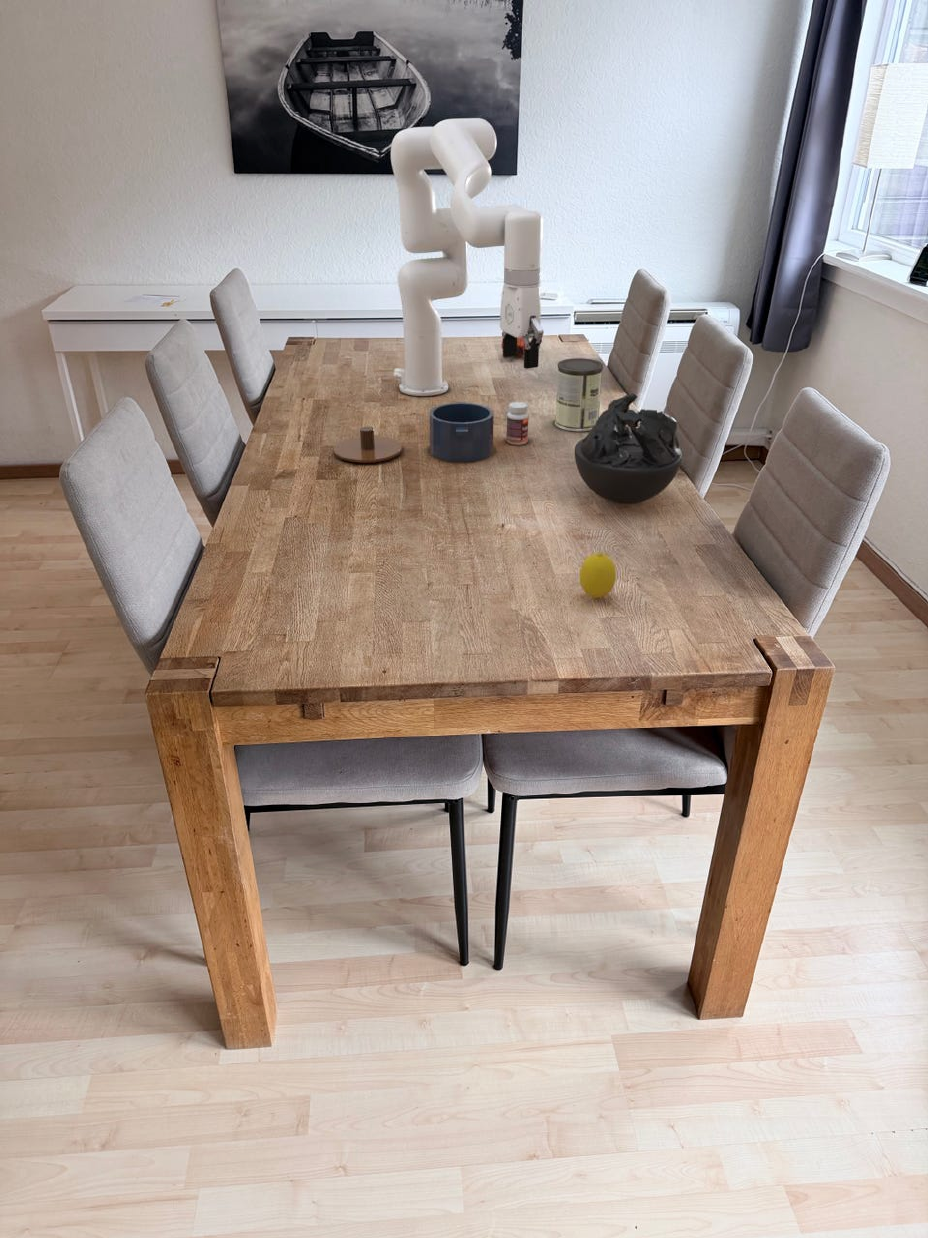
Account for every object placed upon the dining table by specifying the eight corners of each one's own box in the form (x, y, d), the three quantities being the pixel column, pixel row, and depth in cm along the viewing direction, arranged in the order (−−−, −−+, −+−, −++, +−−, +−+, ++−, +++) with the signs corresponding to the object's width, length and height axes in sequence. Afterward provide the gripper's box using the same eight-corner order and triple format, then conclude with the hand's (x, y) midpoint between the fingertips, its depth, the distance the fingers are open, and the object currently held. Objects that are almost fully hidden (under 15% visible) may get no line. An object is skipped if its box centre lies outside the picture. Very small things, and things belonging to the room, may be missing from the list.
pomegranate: (525, 368, 257) (534, 340, 261) (518, 352, 251) (527, 323, 254) (501, 368, 260) (510, 340, 264) (494, 352, 254) (503, 323, 257)
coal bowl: (652, 530, 163) (664, 430, 153) (553, 506, 172) (559, 409, 162) (690, 492, 178) (704, 399, 168) (597, 471, 187) (605, 381, 177)
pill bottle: (526, 445, 199) (527, 408, 195) (504, 444, 200) (505, 407, 196) (529, 438, 203) (530, 402, 199) (508, 436, 204) (509, 400, 200)
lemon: (575, 590, 145) (578, 545, 140) (609, 588, 145) (613, 544, 141) (581, 607, 140) (585, 562, 136) (617, 606, 140) (621, 560, 136)
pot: (429, 467, 189) (428, 428, 184) (431, 435, 205) (430, 398, 200) (494, 467, 189) (495, 427, 184) (491, 435, 205) (491, 398, 200)
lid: (330, 465, 189) (328, 440, 187) (338, 440, 202) (336, 417, 199) (400, 465, 190) (399, 440, 187) (403, 440, 202) (402, 417, 199)
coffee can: (562, 414, 217) (566, 355, 210) (604, 420, 213) (609, 360, 206) (547, 427, 209) (551, 367, 202) (590, 434, 205) (595, 372, 198)
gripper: (487, 271, 189) (486, 354, 197) (525, 286, 175) (523, 374, 184) (519, 268, 191) (517, 350, 200) (559, 283, 178) (555, 370, 187)
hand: (520, 361), depth 192 cm, fingers open, 9 cm apart
